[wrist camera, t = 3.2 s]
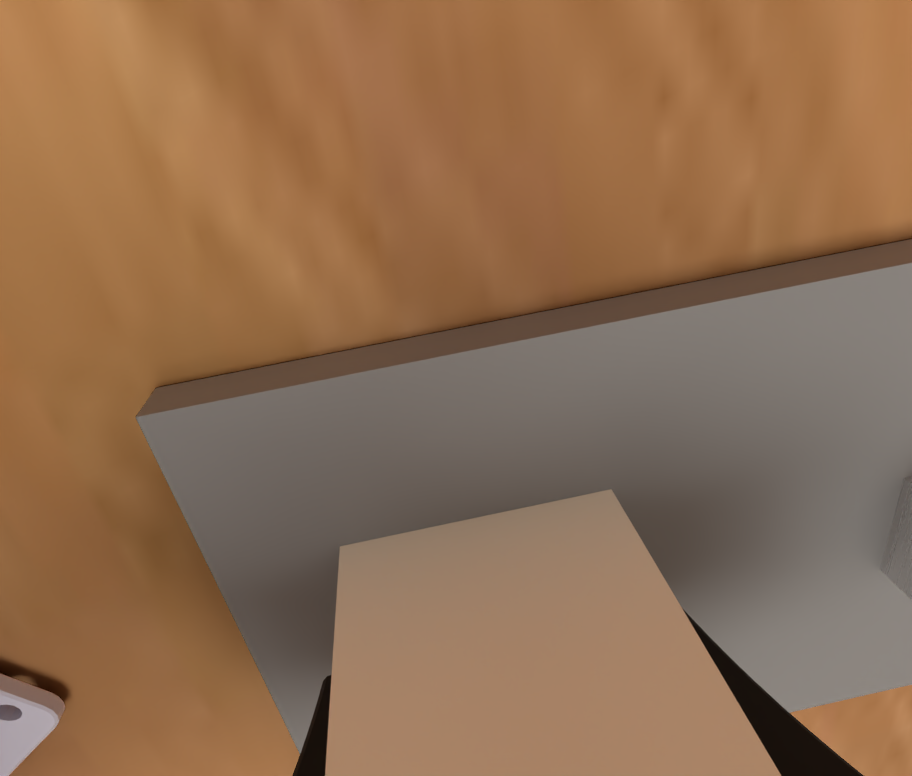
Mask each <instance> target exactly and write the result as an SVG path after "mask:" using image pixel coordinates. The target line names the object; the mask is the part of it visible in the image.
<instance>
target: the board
mask: <svg viewBox="0 0 912 776" xmlns="http://www.w3.org/2000/svg"><path fill="white" fill-rule="evenodd" d="M136 419H137V421H138V423H139V425H140V427H141V430H142V432H143V434H144V436H145V438H146V440H147V442H148V444H149V446H150V448H151V450H152V452H153V454H154V456H155V458H156V460H157V462H158V464H159V466H160V468H161V471H162V473H163V475H164V477H165V479H166V481H167V483H168V485H169V487H170V489H171V491H172V493H173V495H174V497H175V499H176V501H177V503H178V505H179V507H180V509H181V511H182V514H183V516H184V518H185V520H186V522H187V524H188V526H189V528H190V530H191V532H192V534H193V536H194V538H195V540H196V542H197V544H198V546H199V548H200V550H201V552H202V555H203V557H204V559H205V561H206V563H207V565H208V567H209V569H210V571H211V573H212V575H213V577H214V579H215V581H216V583H217V585H218V587H219V589H220V591H221V593H222V595H223V598H224V600H225V602H226V604H227V606H228V608H229V610H230V612H231V614H232V616H233V618H234V620H235V622H236V624H237V626H238V628H239V630H240V632H241V634H242V636H243V639H244V641H245V643H246V645H247V647H248V649H249V651H250V653H251V655H252V657H253V659H254V661H255V663H256V665H257V667H258V669H259V671H260V673H261V675H262V677H263V680H264V682H265V684H266V686H267V688H268V690H269V692H270V694H271V696H272V698H273V700H274V702H275V704H276V706H277V708H278V710H279V712H280V714H281V716H282V718H283V720H284V723H285V725H286V727H287V729H288V731H289V733H290V735H291V737H292V739H293V741H294V743H295V745H296V747H297V749H298V751H299V753H301V751H302V748H303V745H304V742H305V739H306V736H307V733H308V730H309V727H310V724H311V720H312V717H313V714H314V711H315V707H316V704H317V701H318V697H319V694H320V690H321V686H322V683H323V680H324V679H325V678H326V677H327V676H329V675H332V660H333V644H334V629H335V613H336V598H337V582H338V567H339V551H340V546H344V545H349V544H354V543H358V542H363V541H368V540H373V539H377V538H382V537H387V536H392V535H396V534H401V533H406V532H411V531H415V530H420V529H425V528H429V527H434V526H439V525H444V524H448V523H453V522H458V521H463V520H467V519H472V518H477V517H482V516H486V515H491V514H496V513H501V512H505V511H510V510H515V509H520V508H524V507H529V506H534V505H539V504H543V503H548V502H553V501H558V500H562V499H567V498H572V497H576V496H581V495H586V494H591V493H595V492H600V491H605V490H610V489H612V491H613V493H614V494H615V496H616V498H617V499H618V501H619V503H620V505H621V506H622V508H623V510H624V511H625V513H626V515H627V516H628V518H629V520H630V521H631V523H632V525H633V526H634V528H635V530H636V531H637V533H638V535H639V537H640V538H641V540H642V542H643V543H644V545H645V547H646V548H647V550H648V552H649V553H650V555H651V557H652V558H653V560H654V562H655V564H656V565H657V567H658V569H659V570H660V572H661V574H662V575H663V577H664V579H665V580H666V582H667V584H668V585H669V587H670V589H671V590H672V592H673V594H674V596H675V597H676V599H677V601H678V602H679V604H680V606H681V607H682V608H683V609H684V610H685V612H686V613H687V614H688V615H689V616H690V617H691V618H692V619H693V620H694V621H695V622H696V623H697V624H698V625H699V626H700V627H701V628H702V629H703V631H704V632H705V633H706V634H707V635H708V636H709V637H710V638H711V639H712V640H713V641H714V642H715V643H716V644H717V645H718V646H719V647H720V648H721V649H722V650H723V651H724V652H725V653H726V654H727V655H728V656H729V657H730V658H731V659H732V660H733V661H734V662H735V663H736V664H737V665H738V666H739V667H740V668H741V669H742V670H744V671H745V672H746V673H747V674H748V675H749V676H750V677H751V678H752V679H753V680H754V681H755V682H756V683H757V684H758V685H759V686H761V687H762V688H763V689H764V690H765V691H766V692H767V693H768V694H769V695H770V696H771V697H772V698H774V699H775V700H776V701H777V702H778V703H779V704H780V705H781V706H782V707H783V708H784V709H785V710H787V711H788V712H794V711H798V710H803V709H807V708H811V707H816V706H820V705H824V704H829V703H833V702H837V701H842V700H846V699H850V698H855V697H859V696H864V695H868V694H872V693H877V692H881V691H885V690H890V689H894V688H898V687H903V686H907V685H912V600H911V599H910V598H909V597H908V596H907V595H906V594H905V593H904V592H903V591H902V590H901V589H900V588H899V587H897V586H896V585H895V584H894V583H893V582H892V581H891V580H890V579H889V578H888V577H887V576H886V575H885V574H884V573H883V572H882V571H881V570H880V569H881V565H882V561H883V557H884V553H885V549H886V545H887V541H888V537H889V534H890V530H891V526H892V522H893V518H894V514H895V510H896V506H897V502H898V498H899V495H900V491H901V487H902V483H903V479H904V478H906V477H910V476H912V239H909V240H904V241H899V242H894V243H889V244H884V245H879V246H873V247H868V248H863V249H858V250H853V251H848V252H843V253H838V254H833V255H828V256H823V257H818V258H813V259H808V260H802V261H797V262H792V263H787V264H782V265H777V266H772V267H767V268H762V269H757V270H752V271H747V272H742V273H737V274H731V275H726V276H721V277H716V278H711V279H706V280H701V281H696V282H691V283H686V284H681V285H676V286H671V287H666V288H660V289H655V290H650V291H645V292H640V293H635V294H630V295H625V296H620V297H615V298H610V299H605V300H600V301H595V302H590V303H584V304H579V305H574V306H569V307H564V308H559V309H554V310H549V311H544V312H539V313H534V314H529V315H524V316H519V317H513V318H508V319H503V320H498V321H493V322H488V323H483V324H478V325H473V326H468V327H463V328H458V329H453V330H448V331H442V332H437V333H432V334H427V335H422V336H417V337H412V338H407V339H402V340H397V341H392V342H387V343H382V344H377V345H371V346H366V347H361V348H356V349H351V350H346V351H341V352H336V353H331V354H326V355H321V356H316V357H311V358H306V359H300V360H295V361H290V362H285V363H280V364H275V365H270V366H265V367H260V368H255V369H250V370H245V371H240V372H235V373H230V374H224V375H219V376H214V377H209V378H204V379H199V380H194V381H189V382H184V383H179V384H174V385H169V386H164V387H159V388H156V389H155V390H154V391H153V393H152V394H151V396H150V397H149V399H148V400H147V401H146V403H145V404H144V406H143V407H142V409H141V410H140V411H139V413H138V414H137V416H136Z"/></svg>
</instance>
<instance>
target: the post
mask: <svg viewBox="0 0 912 776" xmlns="http://www.w3.org/2000/svg"><path fill="white" fill-rule="evenodd" d="M880 570H881V571H882V572H883V573H884V574H885V575H886V576H887V577H888V578H889V579H890V580H891V581H892V582H893V583H894V584H895V585H896V586H897V587H899V588H900V589H901V590H902V591H903V592H904V593H905V594H906V595H907V596H908V597H909V598H910V599H911V600H912V476H910V477H906V478H904V479H903V483H902V487H901V491H900V495H899V498H898V502H897V506H896V510H895V514H894V518H893V522H892V526H891V530H890V534H889V537H888V541H887V545H886V549H885V553H884V557H883V561H882V565H881V569H880Z"/></svg>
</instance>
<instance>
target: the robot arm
mask: <svg viewBox="0 0 912 776" xmlns="http://www.w3.org/2000/svg"><path fill="white" fill-rule="evenodd" d="M682 609H683V608H682ZM683 611H684V612H685V610H684V609H683ZM685 614H686V616H687V617H688V619H689V621H690V623H691V624H692V626H693V628H694V629H695V631H696V633H697V634H698V636H699V638H700V639H701V641H702V643H703V644H704V646H705V648H706V650H707V651H708V653H709V655H710V656H711V658H712V660H713V661H714V663H715V665H716V666H717V668H718V670H719V671H720V673H721V675H722V676H723V678H724V680H725V682H726V683H727V685H728V687H729V688H730V690H731V692H732V693H733V695H734V697H735V698H736V700H737V702H738V703H739V705H740V707H741V709H742V710H743V712H744V714H745V715H746V717H747V719H748V720H749V722H750V724H751V725H752V727H753V729H754V730H755V732H756V734H757V735H758V737H759V739H760V741H761V742H762V744H763V746H764V747H765V749H766V751H767V752H768V754H769V756H770V757H771V759H772V761H773V762H774V764H775V766H776V768H777V769H778V771H779V773H780V774H781V776H863V775H862V774H861V773H860V772H858V771H857V770H856V769H855V768H853V767H852V766H851V765H850V764H849V763H847V762H846V761H845V760H844V759H842V758H841V757H840V756H839V755H838V754H836V753H835V752H834V751H833V750H832V749H830V748H829V747H828V746H827V745H826V744H825V743H823V742H822V741H821V740H820V739H819V738H818V737H816V736H815V735H814V734H813V733H812V732H810V731H809V730H808V729H807V728H806V727H805V726H803V725H802V724H801V723H800V722H799V721H798V720H797V719H796V718H794V717H793V716H792V715H791V714H790V713H789V712H788V711H787V710H785V709H784V708H783V707H782V706H781V705H780V704H779V703H778V702H777V701H776V700H775V699H774V698H772V697H771V696H770V695H769V694H768V693H767V692H766V691H765V690H764V689H763V688H762V687H761V686H759V685H758V684H757V683H756V682H755V681H754V680H753V679H752V678H751V677H750V676H749V675H748V674H747V673H746V672H745V671H744V670H742V669H741V668H740V667H739V666H738V665H737V664H736V663H735V662H734V661H733V660H732V659H731V658H730V657H729V656H728V655H727V654H726V653H725V652H724V651H723V650H722V649H721V648H720V647H719V646H718V645H717V644H716V643H715V642H714V641H713V640H712V639H711V638H710V637H709V636H708V635H707V634H706V633H705V632H704V631H703V629H702V628H701V627H700V626H699V625H698V624H697V623H696V622H695V621H694V620H693V619H692V618H691V617H690V616H689V615H688V614H687V613H686V612H685ZM330 691H331V675H329V676H327V677H326V678H325V679H324V680H323V683H322V686H321V690H320V694H319V697H318V701H317V704H316V707H315V711H314V714H313V717H312V720H311V724H310V727H309V730H308V733H307V736H306V739H305V742H304V745H303V748H302V751H301V753H300V756H299V759H298V762H297V765H296V768H295V770H294V773H293V776H325V768H326V753H327V737H328V722H329V706H330ZM64 710H65V705H64V702H63V701H62V700H61V698H60V697H59V696H57V695H55V694H54V693H52V692H49V691H46V690H44V689H41V688H38V687H36V686H33V685H30V684H28V683H25V682H22V681H20V680H17V679H14V678H12V677H9V676H6V675H3V674H1V673H0V776H9V775H10V774H11V773H12V772H13V771H14V770H15V769H16V768H17V766H18V765H19V764H20V763H21V762H22V761H23V760H24V759H25V758H26V757H27V756H28V755H29V754H30V753H31V752H32V751H33V750H34V749H35V748H36V747H37V746H38V745H39V744H40V743H41V742H42V741H43V740H44V739H45V738H46V737H47V736H48V735H49V734H50V733H51V732H52V731H53V730H54V729H55V727H56V726H57V724H58V722H59V720H60V718H61V716H62V714H63V712H64Z"/></svg>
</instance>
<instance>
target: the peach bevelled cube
mask: <svg viewBox="0 0 912 776" xmlns="http://www.w3.org/2000/svg"><path fill="white" fill-rule="evenodd" d="M325 776H781V774H780V773H779V771H778V769H777V768H776V766H775V764H774V762H773V761H772V759H771V757H770V756H769V754H768V752H767V751H766V749H765V747H764V746H763V744H762V742H761V741H760V739H759V737H758V735H757V734H756V732H755V730H754V729H753V727H752V725H751V724H750V722H749V720H748V719H747V717H746V715H745V714H744V712H743V710H742V709H741V707H740V705H739V703H738V702H737V700H736V698H735V697H734V695H733V693H732V692H731V690H730V688H729V687H728V685H727V683H726V682H725V680H724V678H723V676H722V675H721V673H720V671H719V670H718V668H717V666H716V665H715V663H714V661H713V660H712V658H711V656H710V655H709V653H708V651H707V650H706V648H705V646H704V644H703V643H702V641H701V639H700V638H699V636H698V634H697V633H696V631H695V629H694V628H693V626H692V624H691V623H690V621H689V619H688V617H687V616H686V614H685V612H684V611H683V609H682V607H681V606H680V604H679V602H678V601H677V599H676V597H675V596H674V594H673V592H672V590H671V589H670V587H669V585H668V584H667V582H666V580H665V579H664V577H663V575H662V574H661V572H660V570H659V569H658V567H657V565H656V564H655V562H654V560H653V558H652V557H651V555H650V553H649V552H648V550H647V548H646V547H645V545H644V543H643V542H642V540H641V538H640V537H639V535H638V533H637V531H636V530H635V528H634V526H633V525H632V523H631V521H630V520H629V518H628V516H627V515H626V513H625V511H624V510H623V508H622V506H621V505H620V503H619V501H618V499H617V498H616V496H615V494H614V493H613V491H612V489H610V490H605V491H600V492H595V493H591V494H586V495H581V496H576V497H572V498H567V499H562V500H558V501H553V502H548V503H543V504H539V505H534V506H529V507H524V508H520V509H515V510H510V511H505V512H501V513H496V514H491V515H486V516H482V517H477V518H472V519H467V520H463V521H458V522H453V523H448V524H444V525H439V526H434V527H429V528H425V529H420V530H415V531H411V532H406V533H401V534H396V535H392V536H387V537H382V538H377V539H373V540H368V541H363V542H358V543H354V544H349V545H344V546H340V551H339V567H338V582H337V598H336V613H335V629H334V644H333V660H332V675H331V691H330V706H329V722H328V737H327V753H326V768H325Z"/></svg>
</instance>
